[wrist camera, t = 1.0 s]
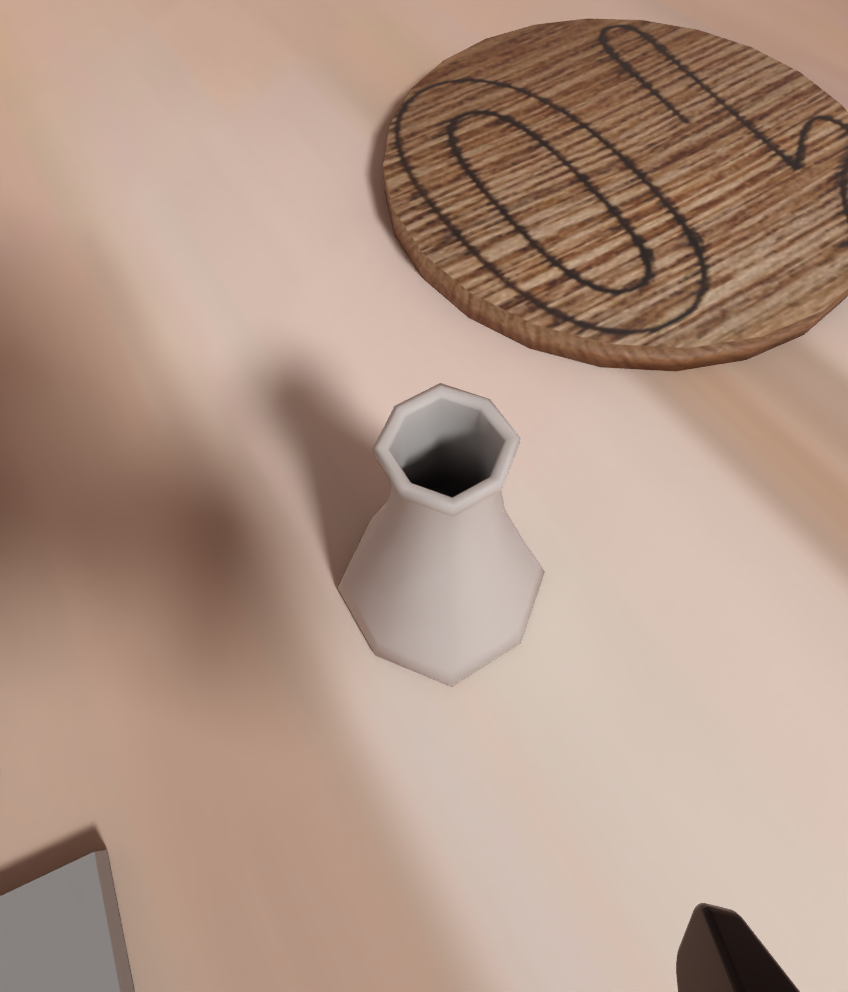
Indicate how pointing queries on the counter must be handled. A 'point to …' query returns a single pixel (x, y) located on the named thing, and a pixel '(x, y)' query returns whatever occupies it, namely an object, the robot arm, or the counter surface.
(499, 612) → the flask
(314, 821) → the counter surface
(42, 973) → the slate coaster
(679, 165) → the trivet
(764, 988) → the robot arm
